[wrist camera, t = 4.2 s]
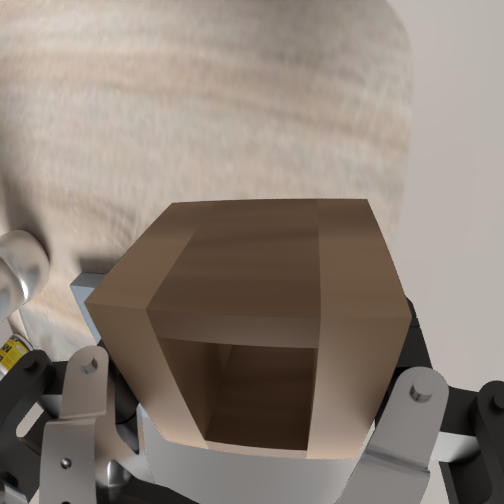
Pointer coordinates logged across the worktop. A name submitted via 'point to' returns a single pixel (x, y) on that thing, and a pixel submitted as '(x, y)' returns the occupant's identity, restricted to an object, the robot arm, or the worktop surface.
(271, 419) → the tan hollow open box
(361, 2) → the worktop surface
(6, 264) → the plastic bottle
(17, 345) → the supplement bottle
